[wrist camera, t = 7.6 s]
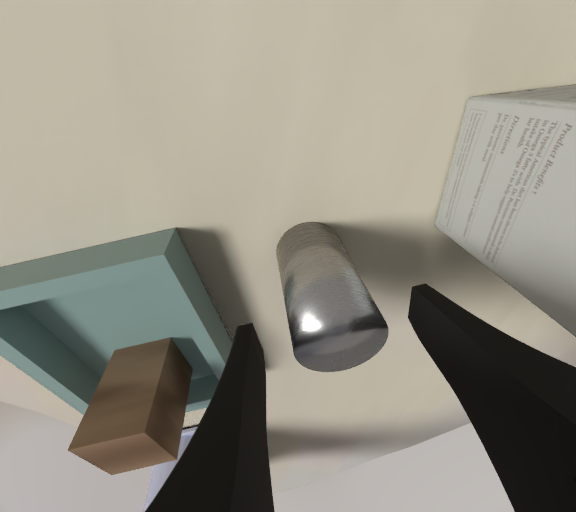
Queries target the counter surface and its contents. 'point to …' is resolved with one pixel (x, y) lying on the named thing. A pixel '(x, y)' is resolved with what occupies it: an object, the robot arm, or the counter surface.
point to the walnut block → (136, 409)
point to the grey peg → (326, 301)
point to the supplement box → (519, 194)
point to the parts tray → (109, 314)
